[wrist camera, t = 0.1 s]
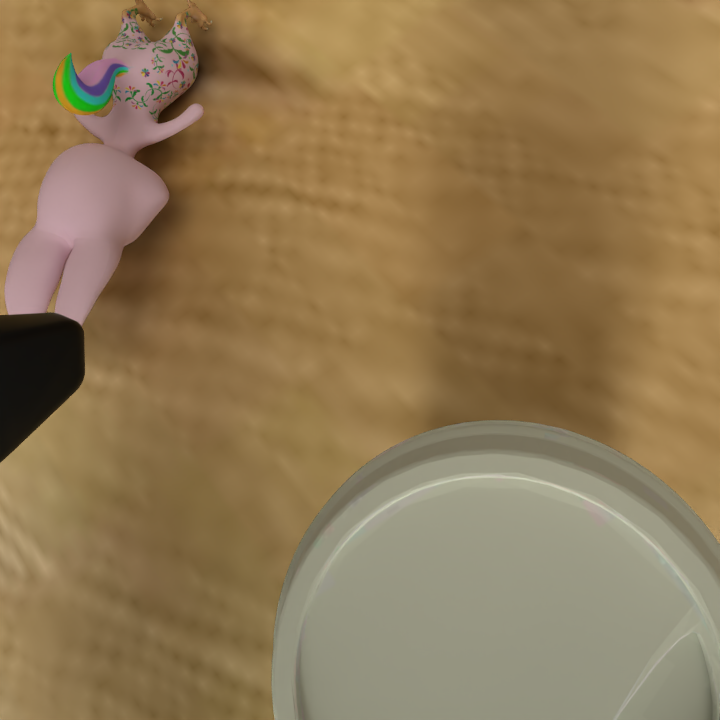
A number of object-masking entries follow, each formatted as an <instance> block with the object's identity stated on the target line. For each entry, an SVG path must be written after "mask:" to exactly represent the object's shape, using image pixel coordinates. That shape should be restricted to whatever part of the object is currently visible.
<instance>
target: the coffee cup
mask: <svg viewBox="0 0 720 720" xmlns="http://www.w3.org/2000/svg"><path fill="white" fill-rule="evenodd" d="M272 698H273V711H274V717H275V720H719V717H720V544H719V543H718V541H717V540H716V538H715V537H714V536H713V534H712V533H711V532H710V530H709V529H708V528H707V526H706V525H705V524H704V523H703V521H702V520H701V519H700V518H699V516H698V515H697V514H696V513H695V512H694V511H693V510H692V509H691V508H690V506H689V505H688V504H687V503H686V502H685V501H684V500H683V499H682V498H681V497H680V496H679V495H678V494H676V493H675V492H674V491H673V490H672V489H671V488H670V487H669V486H668V485H666V484H665V483H664V482H663V481H662V480H660V479H659V478H658V477H657V476H655V475H654V474H653V473H651V472H650V471H649V470H647V469H646V468H644V467H643V466H641V465H640V464H638V463H637V462H635V461H634V460H632V459H631V458H629V457H627V456H625V455H624V454H622V453H620V452H618V451H616V450H615V449H613V448H611V447H609V446H607V445H604V444H602V443H600V442H598V441H596V440H593V439H591V438H588V437H586V436H583V435H580V434H577V433H574V432H571V431H568V430H564V429H561V428H557V427H553V426H548V425H543V424H538V423H531V422H523V421H510V420H486V421H474V422H465V423H459V424H454V425H449V426H445V427H441V428H437V429H434V430H430V431H427V432H424V433H422V434H419V435H416V436H414V437H411V438H409V439H407V440H405V441H403V442H400V443H398V444H397V445H395V446H393V447H391V448H389V449H387V450H386V451H384V452H382V453H381V454H379V455H378V456H376V457H375V458H373V459H372V460H371V461H369V462H368V463H366V464H365V465H364V466H363V467H361V468H360V469H359V470H358V471H357V472H355V473H354V474H353V475H352V476H351V477H350V478H349V479H348V480H347V481H346V482H345V483H344V484H343V485H342V486H341V487H340V488H339V489H338V490H337V491H336V492H335V493H334V494H333V496H332V497H331V498H330V499H329V500H328V502H327V503H326V504H325V505H324V506H323V508H322V509H321V511H320V512H319V513H318V515H317V516H316V517H315V519H314V520H313V522H312V523H311V525H310V526H309V528H308V529H307V531H306V533H305V534H304V536H303V538H302V540H301V542H300V543H299V546H298V548H297V550H296V552H295V554H294V556H293V559H292V561H291V564H290V566H289V569H288V571H287V574H286V577H285V580H284V583H283V587H282V590H281V594H280V598H279V603H278V608H277V614H276V620H275V629H274V642H273V657H272Z"/></svg>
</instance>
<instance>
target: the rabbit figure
mask: <svg viewBox="0 0 720 720" xmlns="http://www.w3.org/2000/svg"><path fill="white" fill-rule="evenodd" d="M135 2H136V4H137V5H135V6H133V7H132V8H129V9H125V10H123V12H122V26H121V30H120V33H119V35H118V38H117V39H116V41H113V42H112V43H110V44H109V45H108V46H107V47H106V48H105V50H104V53H103V56H102V60H98V61H95V62H93V63H91V64H89V65H88V66H87V67H85V68H84V69H83V70H82V71H81V72H80V73H79V74H78V75H77V74H76V72H75V69H74V66H73V63H72V58H71V53H70V54H69V55H67V56H66V57H65V58H64V59H63V60H62V61H61V63H60V64H59V66H58V68H57V70H56V72H55V75H54V78H53V91H54V95H55V97H56V99H57V101H58V102H59V103H60V104H61V105H62V106H63V107H64V108H65V109H66V110H68V111H69V112H71V113H73V114H74V115H75V117H76V118H77V120H78V121H79V122H80V123H81V124H82V125H83V126H84V127H85V128H86V129H87V130H88V131H89V132H90V133H92V134H93V135H94V136H96V137H98V138H99V139H101V140H102V141H103V142H104V145H103V144H96V143H86V144H80V145H76V146H74V147H71V148H69V149H67V150H66V151H64V152H63V153H61V154H60V155H59V156H58V157H57V158H56V159H55V160H54V162H53V163H52V164H51V166H50V168H49V169H48V171H47V173H46V175H45V177H44V180H43V182H42V185H41V188H40V192H39V196H38V205H37V222H36V224H35V226H34V227H33V229H32V230H31V231H30V232H29V233H28V234H26V235H25V237H24V238H23V239H22V240H21V242H20V243H19V245H18V246H17V248H16V250H15V252H14V254H13V257H12V259H11V262H10V265H9V269H8V272H7V277H6V282H5V302H6V307H7V311H8V315H15V314H32V313H46V312H47V308H48V306H49V303H50V301H51V298H52V296H53V294H54V291H55V289H56V287H57V285H58V283H59V281H60V278H61V276H62V273H63V277H62V281H61V285H60V289H59V292H58V296H57V300H56V305H55V313H58V314H61V315H63V316H66V317H68V318H70V319H72V320H75V321H77V322H78V323H79V324H80V325H81V326H82V325H83V323H84V321H85V320H86V318H87V316H88V314H89V312H90V311H91V309H92V307H93V305H94V304H95V302H96V300H97V298H98V296H99V295H100V293H101V292H102V290H103V289H104V287H105V286H106V284H107V283H108V281H109V280H110V278H111V277H112V275H113V273H114V272H115V270H116V268H117V266H118V264H119V261H120V258H121V255H122V251H123V248H124V246H126V245H128V244H130V243H132V242H133V241H135V240H136V239H137V238H138V237H139V236H140V235H141V234H142V233H143V231H144V230H145V229H146V228H147V226H148V225H149V224H150V223H151V221H152V220H153V219H154V218H155V217H156V215H157V214H158V213H159V212H160V211H161V210H162V209H163V207H164V206H165V205H166V204H167V202H168V199H169V191H168V189H167V187H166V185H165V183H164V182H163V180H162V179H161V178H160V177H159V176H158V175H157V174H156V173H155V172H154V171H152V170H151V169H149V168H148V167H146V166H145V165H143V164H141V163H140V162H138V161H137V160H135V159H134V157H135V155H136V153H137V152H138V151H139V150H140V149H142V148H144V147H146V146H148V145H151V144H154V143H157V142H160V141H162V140H164V139H167V138H169V137H171V136H173V135H175V134H177V133H178V132H180V131H182V130H183V129H185V128H186V127H188V126H190V125H191V124H192V123H194V122H195V121H197V120H198V119H200V118H201V117H202V115H203V114H204V108H203V107H202V106H201V105H200V104H193V105H191V106H189V107H188V108H187V109H186V110H185V111H184V112H183V113H182V114H181V115H180V116H178V117H177V118H175V119H173V120H171V121H168V122H165V123H161V124H158V117H159V114H160V112H161V111H162V110H163V109H164V108H166V107H167V106H169V105H170V104H171V103H172V102H173V101H175V100H176V99H177V98H178V97H179V96H180V95H182V94H183V93H184V92H185V91H186V90H188V89H189V88H190V87H191V86H192V84H193V82H194V81H195V79H196V76H197V73H198V67H199V63H198V56H197V53H196V50H195V47H194V45H193V42H192V40H191V37H190V34H189V31H188V29H187V25H186V20H187V18H188V17H191V23H196V22H197V24H198V26H201V28H202V29H204V30H208V29H209V28H206V27H203V22H206V23H207V25H211V24H212V21H211V22H208V21H207V17H206V16H205V15H204V14H203V13H202V12H201V11H200V10H199V9H198V7H197V6H196V4H195V3H192V2H190V0H187V2H188V6H189V8H188V9H186V10H185V11H183V12H181V13H178V14H177V15H176V18H175V24H174V26H173V28H172V29H171V30H170V31H169V32H168V33H167V34H166V35H165V36H164V37H163V38H162V39H161V40H159V41H156V42H151V41H150V39H149V38H148V37H147V36H146V35H145V33H144V32H143V31H142V30H141V28H140V27H139V25H138V23H137V21H136V19H135V18H136V15H137V14H140V17H141V20H142V21H144V20H145V19H146V21H147V22H148V23H149V24H150V25H151V26H152V27H154V26H155V24H153V23H152V20H157V21H161V20H162V19H163V18H157V17H155V14H154V13H153V12H152V11H151V10H150V9H149V8H148V7H147V6H146V4H145V3H144V1H143V0H135ZM111 96H113V108H112V110H111V112H110V113H109V114H108V115H107V116H105V117H98V116H95V115H93V114H95V113H97V112H99V111H100V110H102V109H103V108H104V107H105V106H106V105H107V103H108V102H109V100H110V98H111ZM63 271H64V272H63Z"/></svg>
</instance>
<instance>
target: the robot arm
mask: <svg viewBox="0 0 720 720" xmlns="http://www.w3.org/2000/svg"><path fill="white" fill-rule="evenodd" d="M84 375H85V352H84V331H83V328H82V326H81V325H80V324H79V323H78V322H77V321H75V320H72V319H70V318H68V317H66V316H63V315H61V314H58V313H51V312H50V313H32V314H15V315H0V462H2V461H3V460H4V459H5V458H6V457H7V456H8V455H9V454H10V453H11V452H12V451H14V450H15V449H16V448H17V447H18V446H19V445H20V444H21V443H22V442H23V441H24V440H25V439H26V438H27V437H28V436H29V435H30V434H31V433H32V432H34V431H35V430H36V429H37V428H38V427H39V426H40V425H41V424H42V423H43V422H44V421H45V420H46V419H47V418H48V417H49V416H50V415H51V414H52V413H53V412H54V411H55V410H57V409H58V408H59V407H60V406H61V405H62V404H63V403H64V402H65V401H66V400H67V399H68V398H69V397H70V396H71V395H72V394H73V393H74V392H75V391H76V390H77V389H78V388H79V387H80V385H81V383H82V381H83V379H84ZM719 720H720V717H719Z"/></svg>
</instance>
